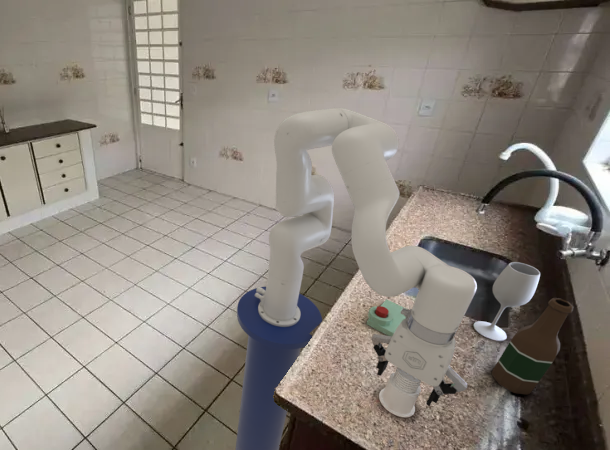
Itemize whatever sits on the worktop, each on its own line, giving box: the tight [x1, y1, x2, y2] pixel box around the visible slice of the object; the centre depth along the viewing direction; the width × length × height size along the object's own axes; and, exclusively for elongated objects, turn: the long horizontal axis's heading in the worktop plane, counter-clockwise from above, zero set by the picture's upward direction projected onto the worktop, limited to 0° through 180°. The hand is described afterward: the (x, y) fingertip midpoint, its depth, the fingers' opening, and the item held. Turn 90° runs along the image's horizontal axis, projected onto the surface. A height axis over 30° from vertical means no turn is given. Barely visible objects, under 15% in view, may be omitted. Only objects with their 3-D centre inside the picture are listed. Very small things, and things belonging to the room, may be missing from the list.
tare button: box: [375, 305, 389, 318], centre depth 97 cm, size 3×3×2 cm
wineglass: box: [473, 261, 541, 342], centre depth 91 cm, size 8×8×21 cm
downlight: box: [378, 367, 422, 418], centre depth 75 cm, size 8×7×10 cm
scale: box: [366, 298, 407, 336], centre depth 97 cm, size 15×13×4 cm
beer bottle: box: [491, 297, 574, 395], centre depth 77 cm, size 8×8×24 cm
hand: (404, 385), depth 75 cm, fingers open, 9 cm apart
